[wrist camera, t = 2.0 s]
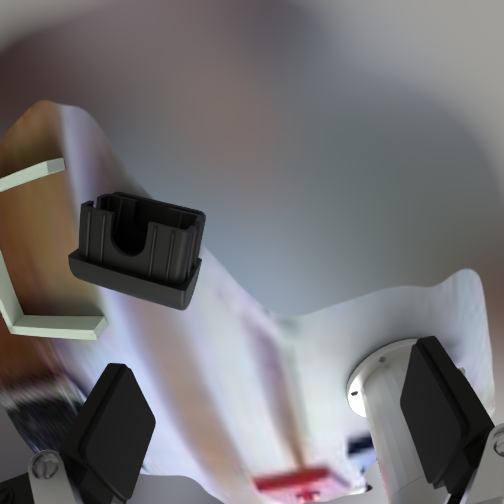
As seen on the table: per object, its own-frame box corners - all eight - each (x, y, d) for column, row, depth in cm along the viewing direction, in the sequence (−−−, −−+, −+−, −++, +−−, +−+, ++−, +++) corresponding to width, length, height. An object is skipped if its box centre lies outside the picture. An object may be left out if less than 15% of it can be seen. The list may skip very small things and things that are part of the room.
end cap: (103, 259, 28) (67, 290, 22) (109, 189, 26) (68, 206, 20) (197, 285, 29) (180, 326, 23) (212, 213, 26) (195, 238, 20)
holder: (63, 157, 25) (46, 161, 22) (108, 325, 31) (97, 339, 29) (-20, 189, 26) (-35, 195, 23) (22, 322, 32) (11, 333, 30)
